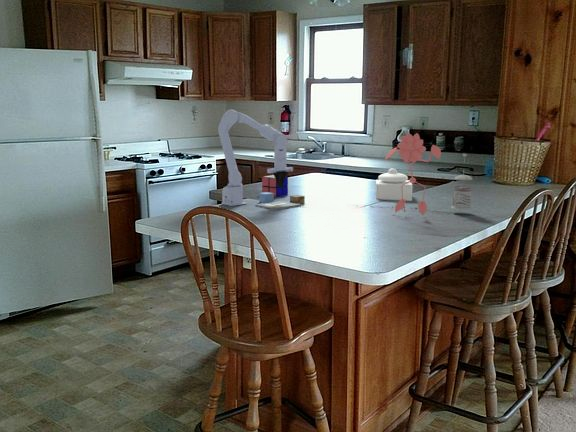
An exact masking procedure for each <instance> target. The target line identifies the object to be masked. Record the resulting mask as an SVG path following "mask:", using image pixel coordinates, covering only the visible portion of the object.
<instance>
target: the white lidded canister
mask: <svg viewBox="0 0 576 432" xmlns="http://www.w3.org/2000/svg"><path fill="white" fill-rule="evenodd" d="M408 181H410V179H409V177H408V175H406V174H404V173H400V172H398V170H397V169H396V168H393V167H391V168H389V169H388V170H387V172H386V173H385V172H384V173H382V174H380V175H378V177H377V179H375V199H376V200H385V201H387V200H391V201H400V200H401V199H402V189H403V199H405V202H407V201H408V202H409V201H410V202H412V201H413V184H412V183H410V182H408ZM406 182H408V183H406ZM404 183H406V184H404ZM402 184H404V185H402Z"/></svg>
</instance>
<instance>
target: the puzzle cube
mask: <svg viewBox="0 0 576 432" xmlns="http://www.w3.org/2000/svg"><path fill="white" fill-rule="evenodd" d="M288 179H289V177H288V175H287V176H286V178H285V180H284V184H283V187H282V188H280V187H278V185H277V181H276V179H275V177H274V175H273V174H272V175H265V176H261V185H262V186H261V193H264V192H269V193H274V198H278V197H284V196H288V195H289V180H288Z"/></svg>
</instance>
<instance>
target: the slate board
mask: <svg viewBox="0 0 576 432" xmlns="http://www.w3.org/2000/svg"><path fill="white" fill-rule="evenodd" d="M258 206H260V207H259V208H262V207H265V208H264V209H267V208H269V209H268V210H271V209H273V210H272V211H281V210H286V209H292V208H299V207H300V208H301V207H302V204H297V203H291V202H290V201H285V200H277V201H274V202H269V203H256V204H255V207H258ZM280 209H281V210H280Z"/></svg>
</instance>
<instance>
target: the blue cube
mask: <svg viewBox="0 0 576 432" xmlns="http://www.w3.org/2000/svg"><path fill="white" fill-rule="evenodd" d="M258 198H259V199H258V200H259V201H258V203H259V202H261V203H260V204H262V203H269V202H275V200H274V199H275V197H274V193H269V192H264V193H262V192H259V193H258Z"/></svg>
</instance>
